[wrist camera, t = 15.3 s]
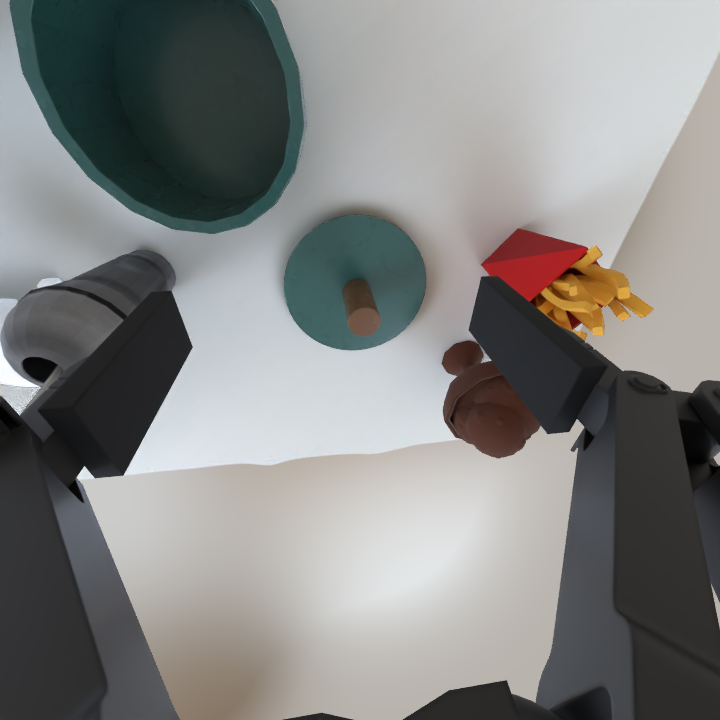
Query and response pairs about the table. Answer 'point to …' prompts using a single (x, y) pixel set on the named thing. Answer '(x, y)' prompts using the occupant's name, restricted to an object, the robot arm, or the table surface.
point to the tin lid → (354, 282)
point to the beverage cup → (78, 315)
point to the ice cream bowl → (484, 404)
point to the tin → (169, 102)
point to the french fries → (563, 281)
